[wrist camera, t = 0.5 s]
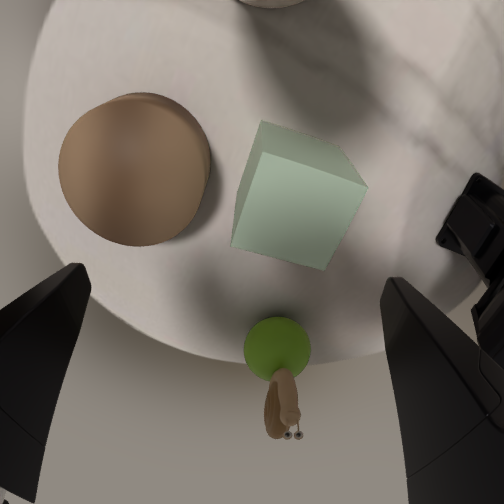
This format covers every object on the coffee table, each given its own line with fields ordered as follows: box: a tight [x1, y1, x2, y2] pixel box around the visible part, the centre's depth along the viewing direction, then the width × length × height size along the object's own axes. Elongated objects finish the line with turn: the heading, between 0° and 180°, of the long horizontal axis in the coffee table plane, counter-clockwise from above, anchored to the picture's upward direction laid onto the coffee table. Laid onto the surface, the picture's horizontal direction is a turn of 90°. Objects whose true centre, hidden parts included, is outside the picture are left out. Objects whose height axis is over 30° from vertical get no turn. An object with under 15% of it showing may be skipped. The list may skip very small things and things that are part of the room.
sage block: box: [230, 120, 368, 271], centre depth 17 cm, size 5×5×6 cm
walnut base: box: [58, 92, 211, 246], centre depth 18 cm, size 9×9×3 cm
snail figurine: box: [244, 317, 311, 440], centre depth 23 cm, size 5×6×12 cm
